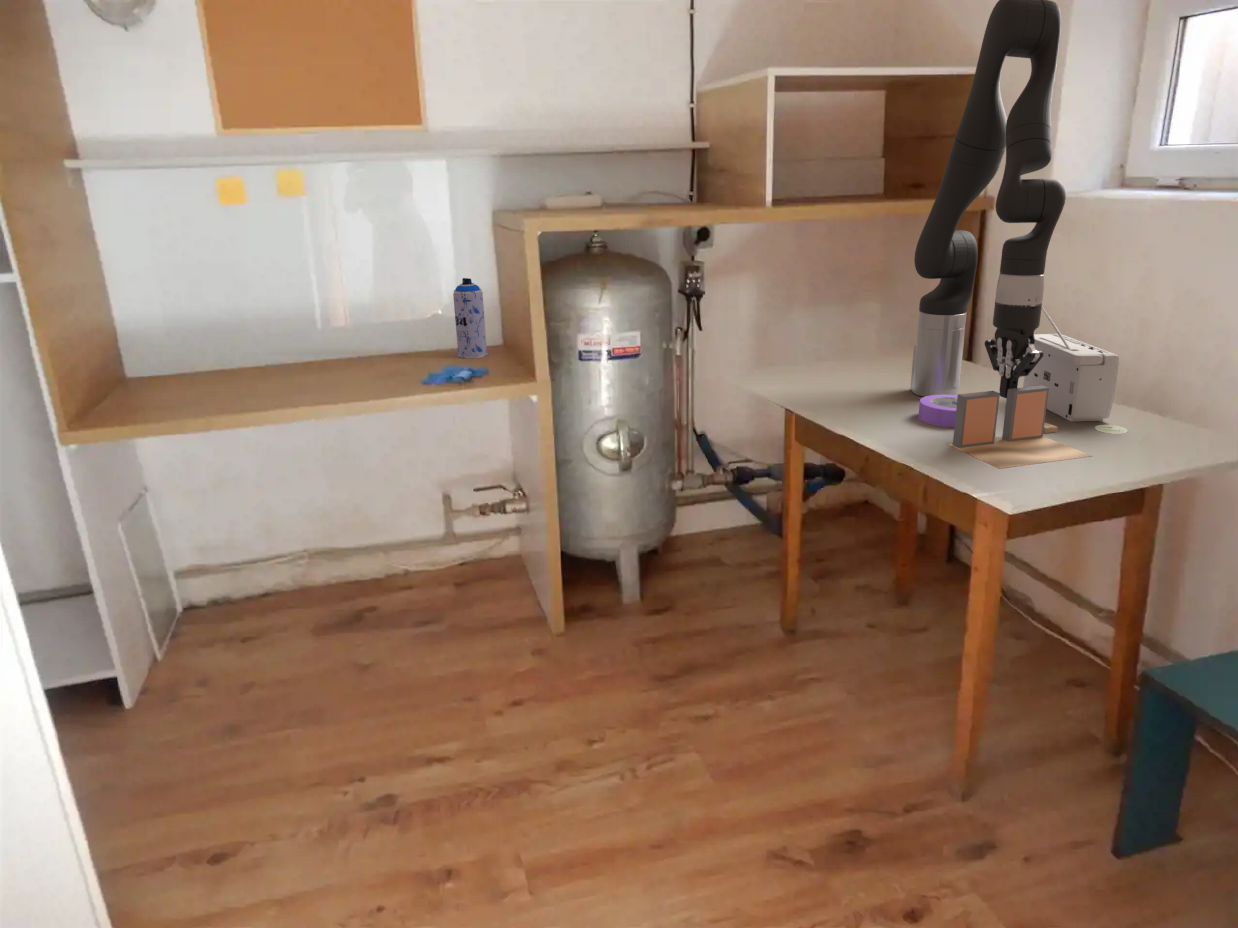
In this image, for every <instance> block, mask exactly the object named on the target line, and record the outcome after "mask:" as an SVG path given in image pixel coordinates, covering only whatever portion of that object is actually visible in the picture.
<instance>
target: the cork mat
mask: <svg viewBox="0 0 1238 928" xmlns="http://www.w3.org/2000/svg"><path fill="white" fill-rule="evenodd" d="M946 445H948V446H951V447H953V448H955V449H956V450H959V451H961V452H962V453H966V454H967V455H970V456H972V457H974V458H976V459H978V460H981V461H983V462H984V463H986V464H989V465H991V466H992V467H995V468H998V469H1000V470H1001V469H1008V468H1015V467H1022V466H1023V467H1024V466H1030V465H1037V464H1044V463H1051V462H1058V461H1060V462H1061V461H1066V460H1067V461H1068V460H1074V459H1082V458H1090V457H1092V455H1091V454H1088V453H1085V452H1083V451H1080V450H1078V449H1076V448H1072V447H1070V446H1069V445H1065V444H1064V443H1061V442H1058V441H1056V440H1053V439H1050V438H1048V437H1045V436H1043V437H1042V438H1034V439H1026V440H1018V441H1010V442H1008V441H1006V440H1004V439H1002V436H995V440H994V444H987V445H979V446H971V447H963V448H958V447H956V446H954V445H953V442H948V443H946Z"/></svg>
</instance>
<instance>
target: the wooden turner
mask: <svg viewBox="0 0 1238 928" xmlns="http://www.w3.org/2000/svg"><path fill="white" fill-rule="evenodd" d="M1058 428H1059V427H1058V426H1056V425H1054V424H1051V423H1048V422H1045V423H1044V430H1043V434H1049V433H1057V432H1058Z"/></svg>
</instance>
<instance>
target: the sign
mask: <svg viewBox="0 0 1238 928" xmlns="http://www.w3.org/2000/svg"><path fill="white" fill-rule="evenodd" d="M1094 430H1096V431H1098V432H1100V433H1105V434H1112V435H1121V434H1122V435H1123V434H1126V433H1128V429H1127V428H1125V427H1122V426H1118V425H1115V424H1099V425H1095V427H1094Z"/></svg>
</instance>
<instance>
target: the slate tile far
mask: <svg viewBox="0 0 1238 928" xmlns="http://www.w3.org/2000/svg"><path fill="white" fill-rule="evenodd" d="M1048 393H1049V388H1048V387H1045V386H1042V385H1041V386H1032V387H1023V386H1022V387H1017V388H1013V389H1008V392H1007V399H1006V403H1005V409H1004V418H1003V426H1002V436H1001V437H1002V439H1004V440H1006V441H1008V442H1010V441H1018V440H1026V439H1034V438H1042V437H1044V432H1043V430H1044V423H1045V421H1046V415H1047V409H1046V408H1047V400H1048Z"/></svg>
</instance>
